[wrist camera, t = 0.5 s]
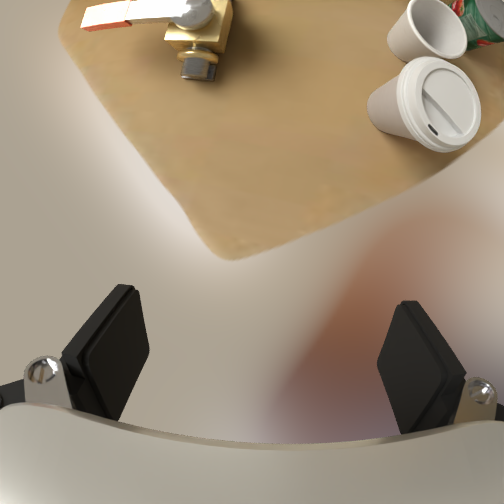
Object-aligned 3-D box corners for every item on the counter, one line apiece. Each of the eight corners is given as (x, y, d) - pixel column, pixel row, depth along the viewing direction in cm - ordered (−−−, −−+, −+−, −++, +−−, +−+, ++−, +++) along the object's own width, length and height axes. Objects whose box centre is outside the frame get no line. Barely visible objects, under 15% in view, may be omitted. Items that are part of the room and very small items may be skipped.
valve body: (196, -3, 27) (181, -30, 20) (240, -1, 27) (233, -29, 20) (176, 78, 32) (154, 65, 25) (221, 81, 32) (209, 68, 25)
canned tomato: (439, -1, 23) (476, -23, 13) (476, 27, 24) (516, 13, 14) (433, 32, 26) (473, 13, 16) (471, 60, 27) (515, 51, 17)
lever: (96, 7, 21) (88, 2, 19) (218, -2, 21) (215, -10, 20) (87, 37, 23) (78, 33, 21) (209, 31, 23) (205, 24, 21)
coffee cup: (342, 93, 32) (386, 71, 18) (396, 67, 30) (457, 41, 16) (378, 156, 35) (436, 172, 21) (429, 127, 32) (498, 132, 19)
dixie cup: (378, 12, 26) (406, -16, 17) (429, 31, 26) (465, 13, 17) (377, 61, 30) (408, 42, 20) (429, 78, 30) (469, 69, 20)
